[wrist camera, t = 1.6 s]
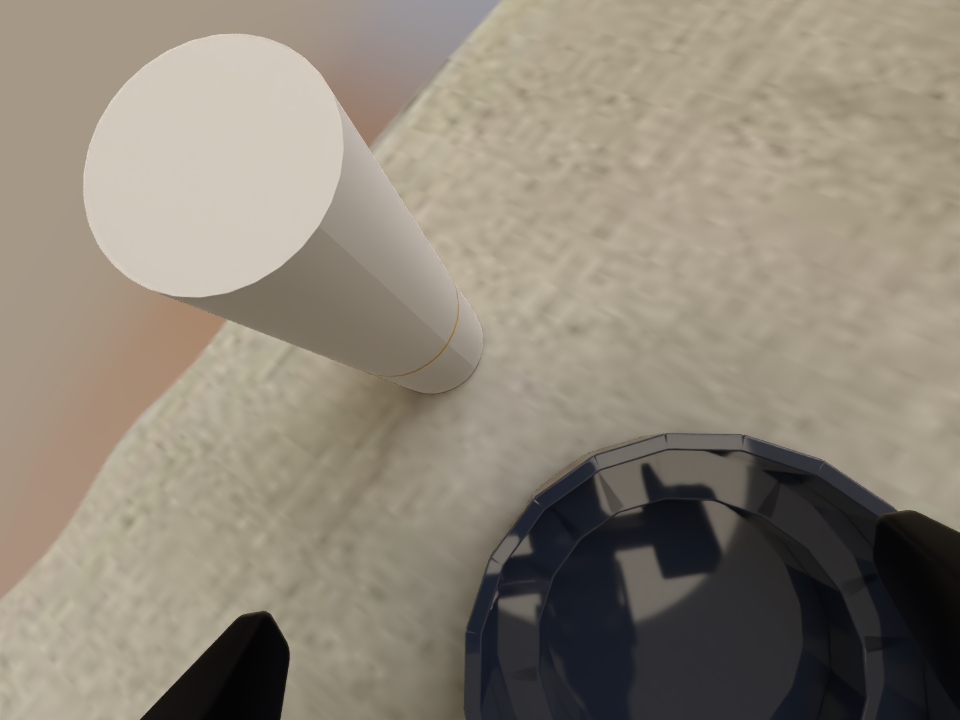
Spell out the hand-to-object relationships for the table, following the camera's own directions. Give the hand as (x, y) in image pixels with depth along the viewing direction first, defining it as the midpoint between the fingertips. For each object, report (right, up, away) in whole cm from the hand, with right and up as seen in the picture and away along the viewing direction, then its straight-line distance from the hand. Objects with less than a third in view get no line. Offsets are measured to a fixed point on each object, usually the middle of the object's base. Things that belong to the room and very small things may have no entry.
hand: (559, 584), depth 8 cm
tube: (-3, +4, +15) cm, 16 cm away
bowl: (+6, -6, +12) cm, 15 cm away
